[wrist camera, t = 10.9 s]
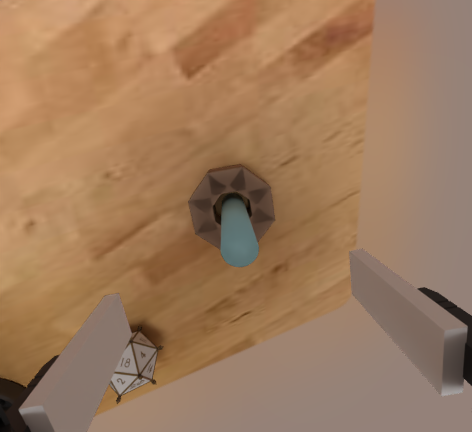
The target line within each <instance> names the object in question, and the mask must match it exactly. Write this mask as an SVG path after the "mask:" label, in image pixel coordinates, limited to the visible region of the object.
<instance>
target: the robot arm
mask: <svg viewBox="0 0 472 432" xmlns="http://www.w3.org/2000/svg"><path fill="white" fill-rule="evenodd" d="M349 255H350V272H351V288H352V295H353V296H354V297H355V298H356V299H357V300H358V301H359V302H360V304H361V305H362V306H363V307H364V308H365V309H366V311H367V312H368V313H369V314H370V315H371V316H372V317H373V319H374V320H375V321H376V322H377V323H378V324H379V325H380V326H381V328H382V329H383V330H384V331H385V332H386V333H387V335H388V336H389V337H390V338H391V339H392V340H393V341H394V343H395V344H396V345H397V346H398V347H399V348H400V349H401V351H403V353H404V354H405V355H406V356H407V357H408V359H409V360H410V361H411V362H412V363H413V364H414V365H415V367H416V368H417V369H418V370H419V371H420V372H421V373H422V375H423V376H424V377H425V378H426V379H427V380H428V381H429V383H430V384H431V385H432V386H433V387H434V388H435V389H436V391H437V392H438V393H439V394H440V395H441V396H445V395H451V394H456V393H461V392H463V382H464V379H465V380H466V381H467V382H468V383H469V384H470V385H471V386H472V316H471V315H470V314H468V313H467V312H465V311H463V310H462V309H461V308H459V307H457V305H455V304H454V303H452V302H451V301H448V299H446V298H445V297H443V296H442V295H440V294H439V293H437V292H434V291H432V290H430V289H427V288H425V287H424V288H418V289H416V288H415V287H414V286H412V285H411V284H410V283H408V282H407V281H405V280H404V279H403V278H402V277H400V276H399V275H397V274H396V273H395V272H393V271H392V270H391V269H389V268H388V267H386V266H385V265H384V264H382V263H381V262H380V261H379V260H377V259H376V258H374V257H373V256H372V255H370V254H369V253H368V252H366V251H365V250H364V249H359V250H353V251H349ZM131 335H132V332H131V329H130V326H129V323H128V320H127V317H126V314H125V311H124V308H123V305H122V302H121V299H120V296H119V293H116V294H111V295H105V296H104V298H103V299H102V300H101V302H100V303H99V304H98V305H97V307H96V308H95V309H94V311H93V312H92V313H91V315H90V316H89V317H88V319H87V320H86V321H85V323H84V324H83V325H82V327H81V328H80V329H79V330H78V332H77V333H76V334H75V336H74V337H73V338H72V340H71V341H70V342H69V344H68V345H67V346H66V348H65V349H64V350H63V352H62V353H61V354H60V355H57V356H54V357H53V358H52V359H51V360H50V361H49V362H47V363H46V364H45V365H44V366H43V367H42V368H41V369H40V371H39V372H38V373H37V374H36V376H35V378H34V379H32V381H31V382H30V383H29V384H28V386H27V388H23V387H22V386H20V385H18V384H15V383H13V382H10V381H7V380H3V379H0V432H87V430H88V428H89V426H90V424H91V422H92V419H93V417H94V415H95V413H96V411H97V409H98V406H99V404H100V402H101V400H102V398H103V396H104V394H105V391H106V389H107V387H108V385H109V383H110V381H111V378H112V376H113V374H114V372H115V370H116V368H117V366H118V363H119V361H120V359H121V357H122V355H123V353H124V350H125V348H126V346H127V344H128V342H129V340H130V338H131Z"/></svg>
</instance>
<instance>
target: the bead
mask: <svg viewBox="0 0 472 432" xmlns="http://www.w3.org/2000/svg"><path fill="white" fill-rule="evenodd" d="M235 191H237V192H239V193H240V194H242V195H243V196H245V197H246V198H248V203H249V208H248V210H247V213H248V216H249V219H250V222H251V225H252V228H253V231H254V233H255V236H256V239H257V242H259V240H260V239H261V238H262V236H263V235H264V234H265V232H266V231H267V230H268V229H269V227H270V226H271V225H272V223H273V222H274V221H275V215H274V208H273V201H272V193H271V187H270V186H269V185H268V184H267V183H266V182H264V181H263V180H262V179H260V178H259V177H258V176H256V175H255V174H253V173H252V172H251V171H249V170H248V169H246V168H245V167H244V166H242V165H241V164H239V165H233V166H228V167H222V168H216V169H211V170H209V171H208V172H207V174H206V175H205V177H204V178H203V180H202V181H201V183H200V184H199V186H198V187H197V189H196V190H195V192H194V193H193V195H192V196H191V198H190V200H189V201H188V203H189V207H190V212H191V216H192V221H193V225H194V229H195V234H196V235H198V236H200V237H201V238H203V239H204V240H206V241H207V242H209V243H211V244H212V245H214V246H215V247H217V248H218V249H220V250H221V216H220V215H218V214H217V213H216V210H215V205H214V204H215V202H216V201H217V199H218V198H219V196H220V195H221V194H224V193H230V192H235Z"/></svg>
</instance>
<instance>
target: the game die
mask: <svg viewBox="0 0 472 432" xmlns="http://www.w3.org/2000/svg"><path fill="white" fill-rule="evenodd" d="M141 328H142V327H141V325H140V326H139V327H138V331H136V332H133V333H132V335H131V338H130V340H129V342H128V344H127V346H126V348H125V350H124V353H123V355H122V357H121V359H120V361H119V363H118V366H117V368H116V370H115V372H114V374H113V376H112V378H111V381H110V383H109V385H110V386H111V388H112V389H113V390H114V391H115V392H116V394H117V395H118V398H117V400H116V401H117V404H118V403H119V402H120V399H121V396H122V395H124V394H126V393H128V392H130V391H132V390H134V389H136V388H138V387H140V386H142V385H144V384H146V383H148V382H150V381H151V382H152V383H153V384H156V381H155V380H153V374H154V369H155V364H156V358H157V353H158V350H160V349H161V350H162V348H163V347H164V346H161V345H160V346H159V347H158V348H157V347H156V346H155V345H154V344H153V343H152V342H151V341H150V340H149V339H148V338H147V337H146V336H145V335H143V334H142V333H141V332H140V330H141Z"/></svg>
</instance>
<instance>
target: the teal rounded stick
mask: <svg viewBox="0 0 472 432" xmlns="http://www.w3.org/2000/svg"><path fill="white" fill-rule="evenodd" d="M258 252H259V246H258V242H257V239H256V236H255V233H254V231H253V228H252V225H251V222H250V219H249V216H248V213H247V210H246V207H245V204H244V201H243V199H242V197H241V196H240V195H239V194H236V193H229V194H227V195H226V196H225V197H224V198H223V200H222V215H221V255H222V257H223V259H224V260H225V261H226V262H227V263H228V264H230V265H232V266H235V267H244V266H247V265H249V264H251V263H252V262H253V261H254V260H255V259H256V257H257V255H258Z"/></svg>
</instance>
